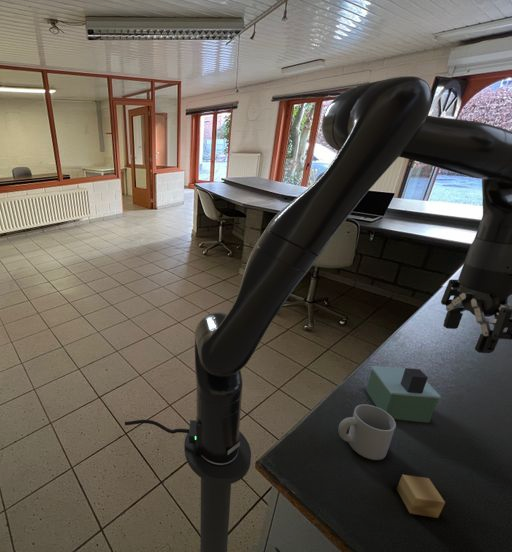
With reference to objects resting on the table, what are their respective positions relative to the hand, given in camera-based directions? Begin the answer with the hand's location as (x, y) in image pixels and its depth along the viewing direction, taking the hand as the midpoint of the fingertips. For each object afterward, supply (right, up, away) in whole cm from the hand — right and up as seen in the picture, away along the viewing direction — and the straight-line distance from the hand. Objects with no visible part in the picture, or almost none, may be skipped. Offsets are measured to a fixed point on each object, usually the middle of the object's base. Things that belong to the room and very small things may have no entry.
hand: (465, 339), depth 60 cm
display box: (+1, -21, +18) cm, 28 cm away
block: (-13, -31, -3) cm, 33 cm away
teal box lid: (+1, -14, +15) cm, 21 cm away
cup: (-15, -26, +8) cm, 32 cm away
